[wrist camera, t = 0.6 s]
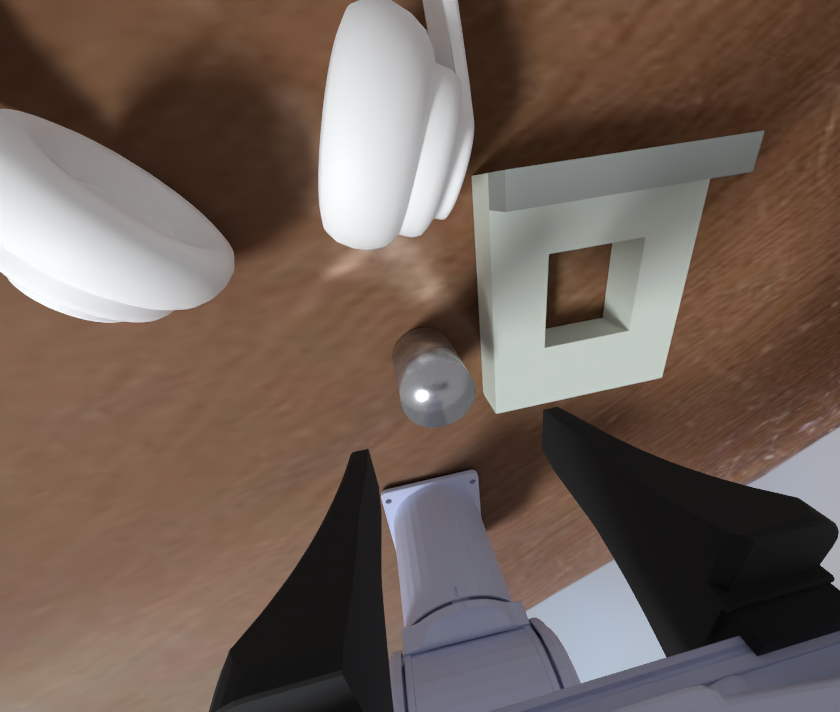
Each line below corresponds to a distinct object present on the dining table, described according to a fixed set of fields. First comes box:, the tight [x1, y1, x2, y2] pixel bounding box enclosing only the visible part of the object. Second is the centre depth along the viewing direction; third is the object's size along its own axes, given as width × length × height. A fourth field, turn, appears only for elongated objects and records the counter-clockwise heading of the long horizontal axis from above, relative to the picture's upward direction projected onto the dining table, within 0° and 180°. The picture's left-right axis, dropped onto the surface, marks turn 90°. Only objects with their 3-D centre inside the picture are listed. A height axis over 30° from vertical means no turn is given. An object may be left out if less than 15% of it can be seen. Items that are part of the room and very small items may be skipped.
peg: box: [392, 327, 475, 427], centre depth 19 cm, size 4×4×5 cm
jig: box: [472, 131, 765, 414], centre depth 19 cm, size 14×12×4 cm
